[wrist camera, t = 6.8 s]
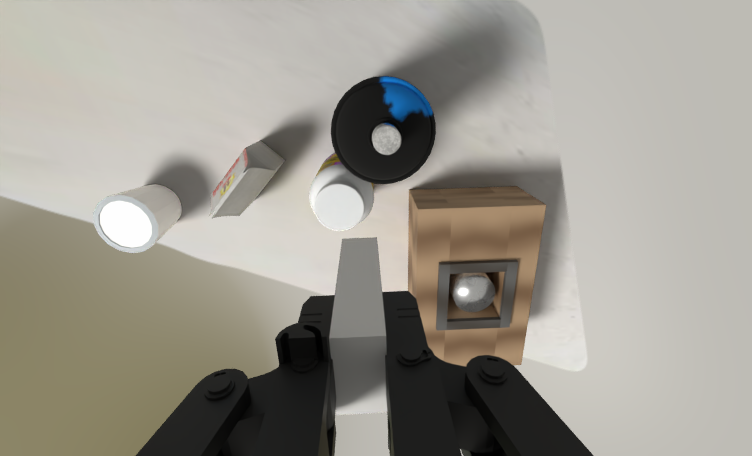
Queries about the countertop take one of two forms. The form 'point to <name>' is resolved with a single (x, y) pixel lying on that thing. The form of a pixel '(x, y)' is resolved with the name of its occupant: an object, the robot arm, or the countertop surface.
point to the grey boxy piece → (245, 180)
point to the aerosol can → (383, 130)
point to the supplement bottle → (340, 196)
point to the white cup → (137, 217)
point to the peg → (471, 291)
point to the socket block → (474, 267)
